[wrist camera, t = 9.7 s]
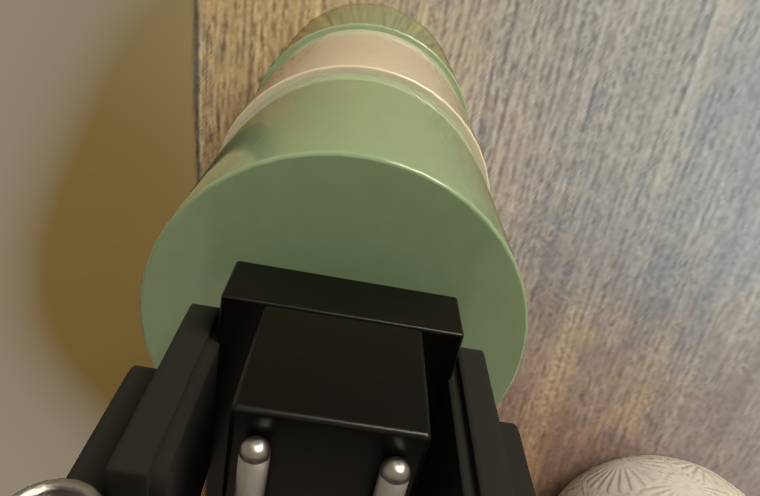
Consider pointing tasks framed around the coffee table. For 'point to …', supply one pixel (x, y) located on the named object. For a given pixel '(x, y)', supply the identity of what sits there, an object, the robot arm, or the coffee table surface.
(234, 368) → the clip
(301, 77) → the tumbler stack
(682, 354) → the coffee table surface
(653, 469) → the planter
